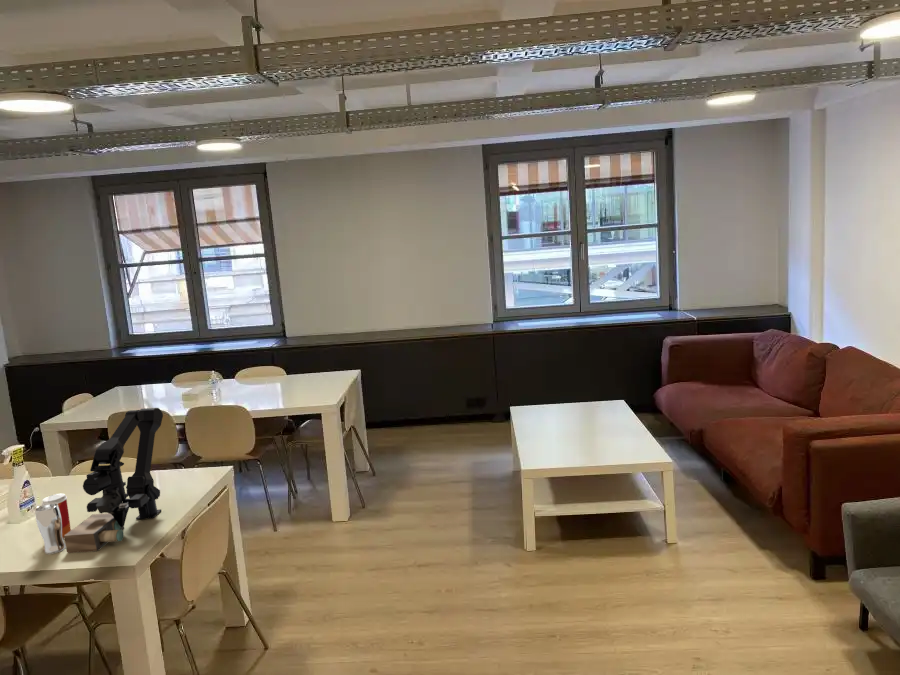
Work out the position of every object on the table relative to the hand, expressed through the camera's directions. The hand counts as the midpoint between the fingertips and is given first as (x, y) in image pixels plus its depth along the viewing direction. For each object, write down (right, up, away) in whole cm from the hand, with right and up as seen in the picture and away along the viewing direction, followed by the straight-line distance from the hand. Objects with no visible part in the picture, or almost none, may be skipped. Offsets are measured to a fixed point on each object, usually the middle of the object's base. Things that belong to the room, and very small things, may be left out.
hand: (122, 526), depth 230 cm
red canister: (-23, -4, +4) cm, 24 cm away
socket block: (-7, -4, -3) cm, 9 cm away
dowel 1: (-1, -3, -8) cm, 8 cm away
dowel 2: (-6, -2, +1) cm, 6 cm away
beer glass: (-19, -6, -7) cm, 21 cm away
